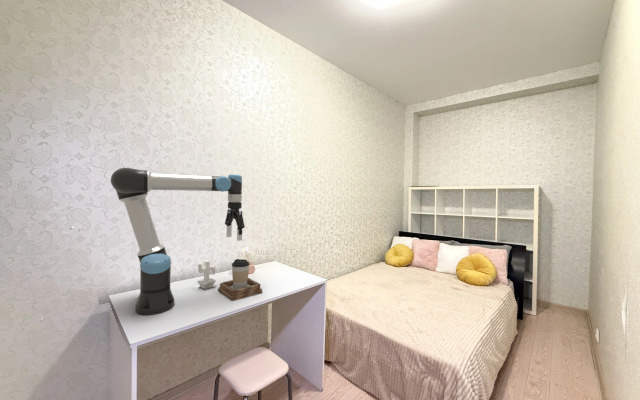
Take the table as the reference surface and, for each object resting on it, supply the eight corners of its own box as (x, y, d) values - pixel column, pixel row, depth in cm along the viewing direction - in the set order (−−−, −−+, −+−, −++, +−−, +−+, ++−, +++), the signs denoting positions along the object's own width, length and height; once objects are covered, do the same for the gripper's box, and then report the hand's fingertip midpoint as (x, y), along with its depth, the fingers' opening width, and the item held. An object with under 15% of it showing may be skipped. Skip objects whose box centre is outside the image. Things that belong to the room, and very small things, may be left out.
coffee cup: (252, 287, 142) (252, 259, 142) (239, 292, 135) (239, 263, 134) (240, 283, 147) (241, 257, 147) (227, 288, 140) (228, 260, 139)
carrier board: (232, 301, 129) (232, 292, 129) (218, 291, 141) (218, 282, 141) (262, 292, 141) (262, 284, 141) (246, 284, 153) (246, 276, 153)
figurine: (217, 286, 148) (218, 260, 148) (202, 291, 141) (202, 263, 140) (210, 283, 152) (211, 257, 152) (194, 287, 145) (195, 261, 144)
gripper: (251, 202, 144) (250, 241, 144) (231, 200, 162) (230, 234, 162) (238, 202, 138) (237, 242, 139) (219, 200, 157) (218, 236, 157)
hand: (234, 238), depth 151 cm, fingers open, 13 cm apart
